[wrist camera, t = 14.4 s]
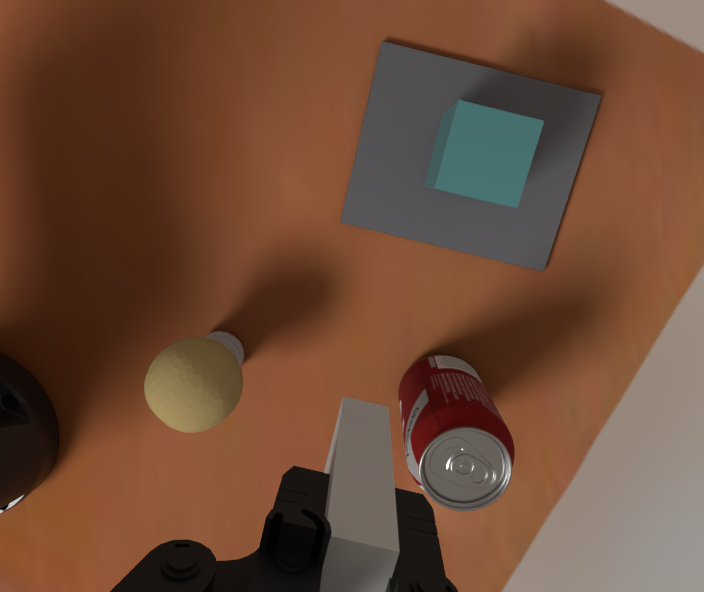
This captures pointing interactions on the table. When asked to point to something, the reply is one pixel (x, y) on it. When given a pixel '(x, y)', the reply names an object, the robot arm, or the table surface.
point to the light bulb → (196, 381)
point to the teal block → (483, 153)
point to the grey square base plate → (418, 144)
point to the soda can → (454, 434)
